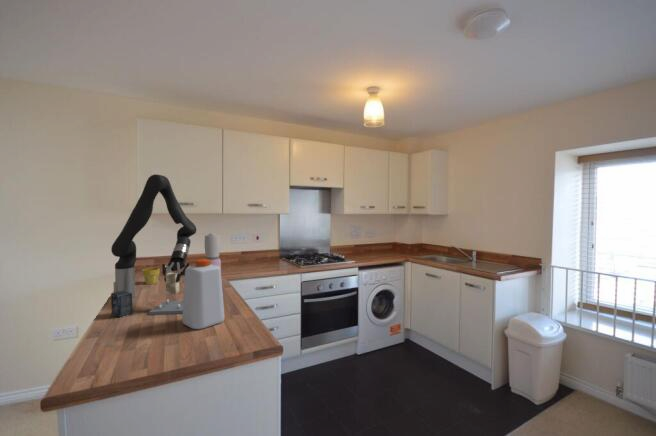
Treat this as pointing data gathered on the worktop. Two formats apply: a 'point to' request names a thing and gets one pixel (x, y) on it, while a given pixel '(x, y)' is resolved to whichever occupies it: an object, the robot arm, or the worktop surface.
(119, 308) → the box
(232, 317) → the worktop surface
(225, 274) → the worktop surface
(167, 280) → the birch block
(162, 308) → the locating plate
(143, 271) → the plant pot
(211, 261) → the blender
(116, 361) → the worktop surface
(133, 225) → the robot arm
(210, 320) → the plastic bottle
